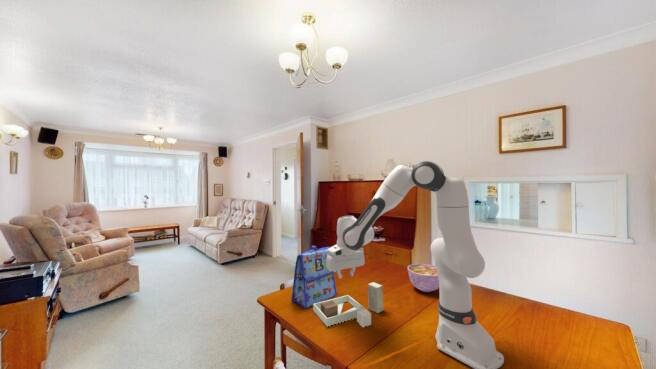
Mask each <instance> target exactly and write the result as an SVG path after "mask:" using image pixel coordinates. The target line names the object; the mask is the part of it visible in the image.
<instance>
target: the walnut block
mask: <svg viewBox="0 0 656 369" xmlns="http://www.w3.org/2000/svg"><path fill="white" fill-rule="evenodd" d="M329 300H330V299H329ZM325 301H326V300H325ZM321 312H322V313H323V314H324V315H325V316H326V317H327V318H329V317H332V316H336V315H338V305H337V304H336V303H335V302H334V301H332V300H330V301H326V302H322V303H321Z"/></svg>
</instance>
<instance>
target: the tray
mask: <svg viewBox="0 0 656 369" xmlns="http://www.w3.org/2000/svg"><path fill="white" fill-rule="evenodd" d="M330 300H332V301H334V302H335V303H336V304H337V305H338V315H336V316H332V317H329V318H327V317H326V316H325V315H324V314H323V313H322V312H321V303H322V302H326V301H330ZM322 302H318V303H314V304H313V306H312V311H313V312H314V314H316V315H317V317H318V318H319V320H321V321H322V322H323V325H324V324H325V325H326V326H327V327H326V326H325V325H324V326H325V327H326V328H328V326H329V327H332V326H331V325H333V326H335V325H334V324H336V325H339V324H341V322H342V323H345V322H344V321H346V322H348V320H349V321H352V320H355V319H357V311H359V310H363V309H366V308H365V306H363V305H362V304H360V303H359V302H358V301H357V300H355V299H354V298H353V297H351V296H350V295H348V294H346V295H343V296H339V297H335V298H334V297H333V298H329V299H326V300H324V301H322ZM347 302H348V303H349V304H350V305H352V306H353V307H351V308H349V309H348V310H346V311H344V312H342V310H343V306H344V303H347ZM354 318H355V319H354ZM351 319H352V320H351ZM338 323H339V324H338Z"/></svg>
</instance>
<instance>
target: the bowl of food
mask: <svg viewBox="0 0 656 369" xmlns="http://www.w3.org/2000/svg"><path fill="white" fill-rule="evenodd" d="M407 273H408V277H409V280H410V283H411V284H412V285H413V287H415V288H416V289H418V290H419V291H421V292H424V293H431V292H434V291H436V290H438V289H439V279H438V274H437V270H436V265H432V264H429V263H428V264H427V263H413V264H410V265H408V266H407Z"/></svg>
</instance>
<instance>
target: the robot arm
mask: <svg viewBox="0 0 656 369" xmlns="http://www.w3.org/2000/svg"><path fill="white" fill-rule="evenodd" d="M415 186H416V187H418V188H419V189H422V190H425V191H426V190H427V191H429V192H430V191H431V192H433V193H435V196H436V212H437V213H436V214H437V216H436V217H437V226H438V227H437V228H438V229H439V230H440V233H441V235H442V237H437V238H436V239H434V240H433V241H432V243H431V244H430V252H431V255H432V257H433V259H434V260H433V261H434V264H435V265H434V266H436V270H437V274H438V279H439V288H438V289H439V290H438V292H439V300H438V302H437V303H438V305H437V308H438V309H437V310H438V311H437V312H438V316H439V317H438V322H437V323H438V324H437V329H436V333H435V336H434V337H435V338H434V339H435V341H436V342H437V345H436V347H437V349H439V350H440V351H441V352H443V353H445V354H447V355H449V356H451V357H453V358H455V359H456V360H458V361H460V362H462V363H463V364H466V365H467V366H468V367H471V368H472V369H499V368H501V367H502V366H503V365H504V362H505V357H504V354H502V353H501V352H499V351H498V350H497V348H496V344H495V341H494V338H493V337H492V336H491V335H490V334H489V333H488V332H487V331H486V329H485V328H484V327H483V326H482V324H480V322H478V320H477V318H479V315H480V313H475V311H474V308H473V306H472V286H471V284H470V282H469V280H468V278H469V279H474V278H475V279H476V278H477V277H480V276H481V275H482V274H483V273H484V271H485V267H486V262H485V261H486V260H485V258H484V256H483V255H482V254H481V253H480V250H478V246H477V245H476V241H475V238H474V235H473V233H472V228H471V224H470V223H471V221H470V220H471V219H470V206H469V205H470V204H469V197H468V189H467V186H466V182H464V180H463V179H461V178H458V177H455V176H454V177H453V176H451V177H450V176H446V175H445V173H444V170H443V168H442V167H441V166H440V165H439V164H438V163H436V162H433V161H428V160H424V161H420V162H419V163H416V164H415V166H414V167H413V168H412V167H409V166H407V165H404V164H400V165H399V164H398V165H397V166H395V167H394V168H393V169H392V170H391V171H390V173H389V174H388V175H387V176H386V177H385V179H384V180H383V182H382V183H381V184H380V186H379V188H377V191H376V192H375V194H374V196H373V198H371V201H370V202H369V204H368V205H367V206H366V208H364V210H363V211H362V212H361V213H360V215H359V217H358V218H356V217H355V216H354V215H343V216H340V217H339V218H338V219H337V223H336V224H337V225H336V235H337V240H336V244H334V245H332V246H329V247H330V248H329V249H328V253H329V254H328V255H327V258H326V268H327V270H329V271H334V272H336V273H337V274H338V275H337V276H338V278H339V279H343V274H342V273H341V272H342V270H345V269H350V271H349V272H348V276H350V277H353V276H354V274H355V271H356V267H361V266H365V263H366V262H365V260H366V259H365V254H364V253H365V252H364V251H365V250H364V248H363V247H364V246H366V245H367V244H369V243H371V242H372V241H373V240H374V238H375V230H374V228H373V225H374V224H375V223H376V220H378V218H379V217H381V216H382V215H383V214H385V213H387V212H388V211H392V209H394V208H396V207H397V206H398V205H400V203H401V202H402V201H403V200H404V198H405V196H406V195H407V194H408V193H409V191H410V190H411V189H412V188H413V187H415Z"/></svg>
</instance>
